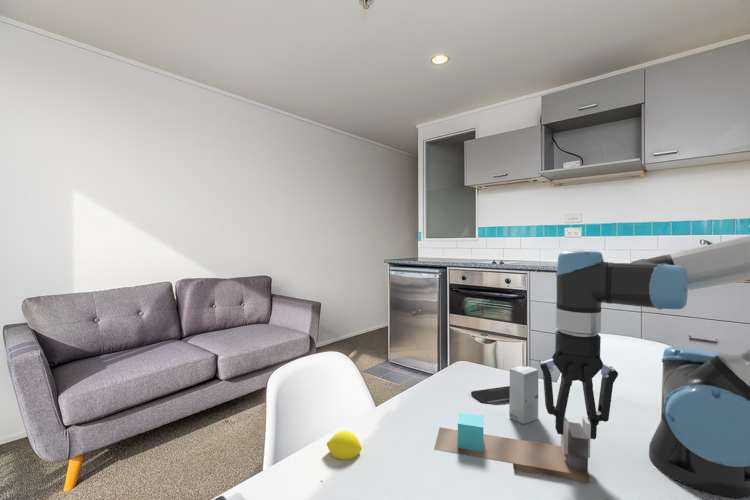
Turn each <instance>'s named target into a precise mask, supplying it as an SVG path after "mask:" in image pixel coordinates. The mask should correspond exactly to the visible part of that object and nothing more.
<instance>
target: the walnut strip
mask: <svg viewBox="0 0 750 500" xmlns="http://www.w3.org/2000/svg"><path fill="white" fill-rule="evenodd" d="M433 450H435V451H440V452H447V453H451V454H458V455H464V456H470V457H474V458H481V459H487V460H490V461H491V460H493V461H496V462H497V461H498V462H502V463H503V462H504V463H509V464H512V466H513V470H516V471H521V472H527V473H532V474H538V475H542V476H548V477H554V478H559V479H560V478H561V479H566V480H571V481H578V482H583V483H589V484H590V481H591V476H590V473H589V468H588V467H589V465H588V464H589V458H588V438H587V436H586V434H585V432H584V430H583V428H582V423H579V422H578V423H577V422H572V421H569V428H568V454H563V451H562V448H561V445H557V444H549V443H548V444H547V443H544V442H543V443H542V442H536V441H530V440H525V439H523V440H522V439H517V438H510V437H504V436H498V435H491V434H485V433H483V452H480V451H474V450H468V449H462V448H458V429H453V428H446V427H439V428H438V433H437V437H436V440H435V444H434V449H433Z"/></svg>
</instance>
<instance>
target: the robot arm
mask: <svg viewBox="0 0 750 500" xmlns="http://www.w3.org/2000/svg"><path fill="white" fill-rule="evenodd" d="M604 260H605V259H604V256H603V254H602V252H600V251H595V250H594V251H593V250H591V251H588V250H563V251H561V252H560V253H559V254H558V258H557V271H556V273H555V276H556V309H555V310H556V313H555V315H556V317H555V327H556V328H557V330H556V331H555V351H554V354H553V355H552V356H551V358H550V359H547V360H544V359H540V360H539V362H538V364H539V367H540V369H541V371H542V377H543V392H544V403H545V405H544V406H545V409H546V412H547V413H548V415H552V416H555V421H554V422H555V425H554V426H555V427H554V428H555V431H556V433H557V435H560V446H561V448H562V451H563V454H568V428H569V422H570V421H569V418H568V416H567V414H566V412H567V405H568V401H569V396H570V390H571V387H572V385H573V381H579V382H581V384H582V390H583V396H584V403H585V410H586V416H582V423H581V426H582V428H583V430H584V432H585V434H586V436H587V438H588V459H590V458H591V439H592V440H596V438H597V434H598V433H597V432H598V431H597V428H598V427H597V426H599V423H600V422H604V423H605V422H608V421H609V420H610V419H609V418H610V411H611V403H612V395H613V387H614V383H615V381H616V379H617V378H618V376H619V372H618V371H617V369H615V368H614V367H613V366H612V365H611V366H608V365H606V364H604V363H603V361H602V358H601V342H602V341H601V340H602V339H601V336H600V335H599V333H601V330H602V304H609V305H610V304H613V305H614V304H615V305H623V306H633V307H634V306H635V307H641V308H642V307H643V308H653V309H657V310H664V309H665V310H682V309H684V308H685V307H686V305H687V302H688V294H689V293H688V292H689V291H692V290H698V289H704V288H710V287H716V286H722V285H727V284H732V283H739V282H745V281H750V235H745V236H743V237H742V236H741V237H737V238H733V239H729V240H724V241H720V242H717V243H711V244H707V245H703V246H698V247H693V248H689V249H684V250H680V251H676V252H673V253H669V254H663V255H659V256H655V257H651V258H641V259H637V260H633V261H631V262H629V263H628V262H625V263H624V262H609V261H604ZM661 362H662V374H661V375H662V378H661V379H662V380H661V413H660V414H661V415H660V422H659V424H658V426H657V428H656V430H655V432H654V434H653V436H652V438H651V440H650V441H649V447H648V448H649V449H648V456H649V460H650V461H651V463H652V464H653V465H654V466H655V467H656V468H657V469H658V470H659V471H660V472H662V473H663V474H665V475H667V476H668V477H669V478H672V479H674V480H675V481H677V482H679V483H682V484H684V485H686V486H688V487H689V488H693V489H696V490H698V491H701V492H704V493H709V494H712V495H715V496H721V497H725V498H726V497H727V498H737V499H738V498H747V497H750V348H748V349H747V350H745V351H743V352H742V353H741V354H728V353H724V352H723V353H722V352H718V351H714V350H713V351H711V350H707V349H700V348H693V347H684V346H683V347H682V346H681V347H680V346H669V347H666V348H665V349H664V350H663V354H662V358H661ZM554 366H555V367H556V368H557V369H558V371H559V373H561V375H560V384H559V390H558V395H557V400H556V405H555V404H554V392H553V391H554V389H553V381H552V380H553V378H552V377H553V376H552V372H554ZM599 372H600V374H601V376H602V377H601V382H600V388H599V389H600V390H599V395H598V396H599V397H598V404H597V405H598V406H597V407H596V402H595V394H594V384H593V378H594V377H595V376H596V375H597V374H598V373H599Z"/></svg>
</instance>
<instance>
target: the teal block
mask: <svg viewBox="0 0 750 500" xmlns="http://www.w3.org/2000/svg"><path fill="white" fill-rule="evenodd" d="M457 421H458V422H457V430H458V448H462V449H468V450H474V451H480V452H483V434H484V415H479V414H473V413H466V412H459V415H458V420H457Z"/></svg>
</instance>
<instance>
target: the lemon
mask: <svg viewBox="0 0 750 500" xmlns="http://www.w3.org/2000/svg"><path fill="white" fill-rule="evenodd" d="M326 446H327V449H328V450H329V452H330V454H331V456H332V457H333V458H335V459H338V460H343V461H345V460H348V461H349V460H350V459H351V460H352V459H354V458H356V457H358V456H359V454H360V453H361V451H362V446H361V442H360V440H359V438H358V436H357V435H355V433H353V432H350V431H346V430H343V431H338V432H336V433H334V435H332V437H331V438H330V439H329V440H328V441H327V442H326Z"/></svg>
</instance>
